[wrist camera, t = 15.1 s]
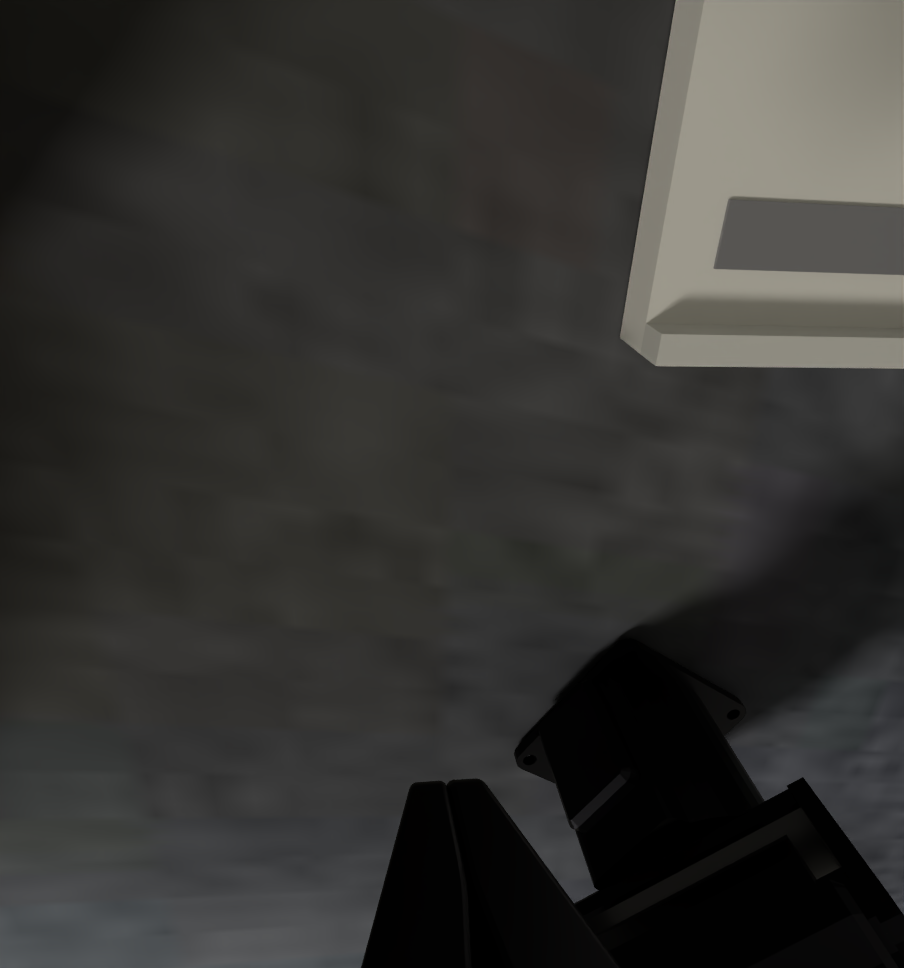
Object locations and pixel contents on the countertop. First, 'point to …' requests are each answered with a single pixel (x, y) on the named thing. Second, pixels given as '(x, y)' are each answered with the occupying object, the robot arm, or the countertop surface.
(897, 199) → the switch panel
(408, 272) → the countertop surface
